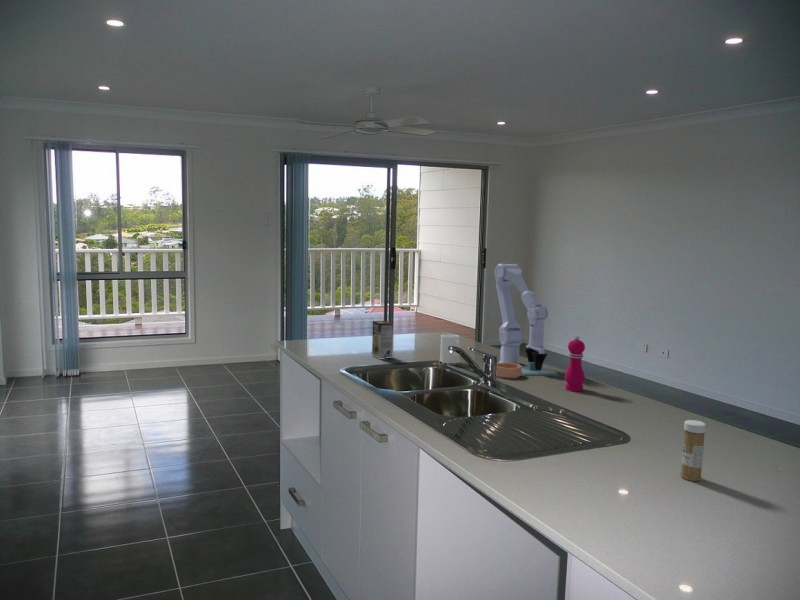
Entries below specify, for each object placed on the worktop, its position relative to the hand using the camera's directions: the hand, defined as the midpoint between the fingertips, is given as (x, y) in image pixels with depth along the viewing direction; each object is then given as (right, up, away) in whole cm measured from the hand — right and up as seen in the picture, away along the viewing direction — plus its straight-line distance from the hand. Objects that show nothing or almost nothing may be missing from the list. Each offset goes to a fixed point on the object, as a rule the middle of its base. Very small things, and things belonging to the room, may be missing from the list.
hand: (534, 367), depth 254 cm
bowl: (-13, -3, -9) cm, 16 cm away
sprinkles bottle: (+13, -14, -109) cm, 111 cm away
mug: (-33, 0, +15) cm, 36 cm away
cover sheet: (0, -2, 0) cm, 2 cm away
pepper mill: (+9, -5, -27) cm, 29 cm away
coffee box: (-64, +2, +24) cm, 68 cm away
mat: (0, -2, 0) cm, 2 cm away
